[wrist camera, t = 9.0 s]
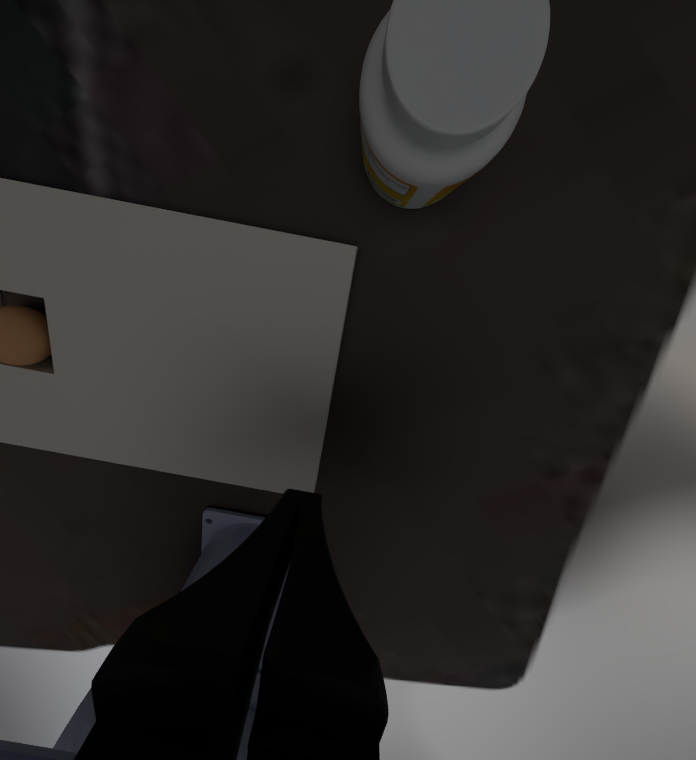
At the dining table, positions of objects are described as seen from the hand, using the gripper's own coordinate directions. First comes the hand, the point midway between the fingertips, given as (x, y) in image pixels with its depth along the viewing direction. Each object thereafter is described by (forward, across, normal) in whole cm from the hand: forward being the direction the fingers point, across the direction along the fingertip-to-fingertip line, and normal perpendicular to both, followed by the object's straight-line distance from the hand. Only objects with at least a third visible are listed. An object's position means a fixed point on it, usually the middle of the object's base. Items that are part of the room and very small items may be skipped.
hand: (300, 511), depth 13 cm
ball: (+8, +19, -2) cm, 20 cm away
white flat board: (+10, +13, -2) cm, 16 cm away
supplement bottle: (+10, -2, -15) cm, 18 cm away
